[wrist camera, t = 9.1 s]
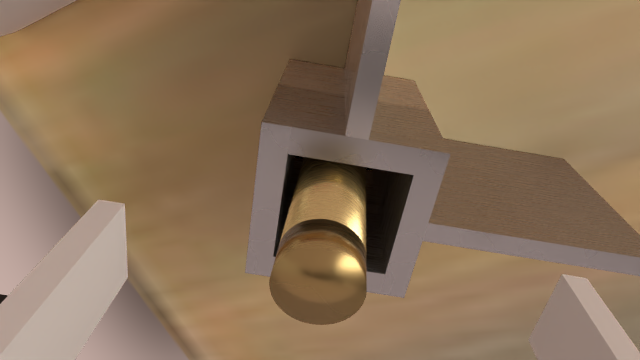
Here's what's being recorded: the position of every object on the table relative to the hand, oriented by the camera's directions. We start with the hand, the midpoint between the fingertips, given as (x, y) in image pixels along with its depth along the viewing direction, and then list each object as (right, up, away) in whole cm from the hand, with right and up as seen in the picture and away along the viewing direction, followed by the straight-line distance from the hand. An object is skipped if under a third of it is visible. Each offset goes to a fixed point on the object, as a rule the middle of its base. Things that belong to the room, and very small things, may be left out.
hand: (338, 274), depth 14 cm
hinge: (+6, +9, +9) cm, 14 cm away
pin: (0, +6, +11) cm, 12 cm away
